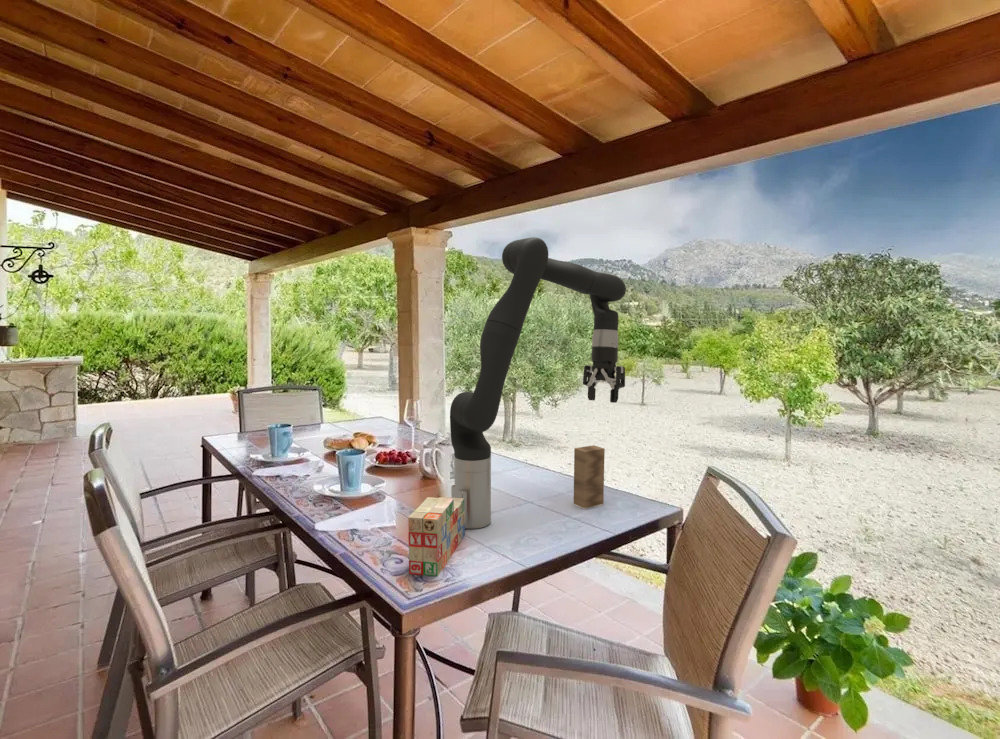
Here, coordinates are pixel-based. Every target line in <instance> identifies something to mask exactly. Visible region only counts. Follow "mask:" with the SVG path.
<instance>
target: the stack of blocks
mask: <svg viewBox="0 0 1000 739" xmlns="http://www.w3.org/2000/svg"><path fill="white" fill-rule="evenodd" d="M407 521H408V523H407V524H408V536H407V538H408V557H409V558H408V574H409V575H416V576H417V575H418V576H429V577H438V576H439V575H440V574H441V572H442V571H443V570H444V568H445V567H446V565H447V564H448V562H449V560H451V557H452V555H453V554H454V552H455V551H456V549H457V548H458V546H460V544H461V542H462V540H463V539H464V537H465V535H466V531H465V511H464V498H451V497H449V496H448V497H445V496H439V497H432V496H431V497H429V496H427V497H426V498H425V499H424V501H423V502H422V503H421V504H420V505H419V506H418V507H416V509H415V510H414V511H413V512H412V513H411V514H409V516H408V520H407Z"/></svg>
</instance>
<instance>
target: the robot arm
mask: <svg viewBox="0 0 1000 739" xmlns="http://www.w3.org/2000/svg"><path fill="white" fill-rule="evenodd" d="M501 260H502V261H501V262H502V264H503V266H504V268H505V270H507V271H508V272H509V273H511V274H513V275H512V279H511V281H510V283H509V286H508V288H507V290H506V291H505V292H504V293H503V295H502V296H501V297H500V299H499V300H498V301H497V302H496V303H495V305H494V306H493V308H492V309H491V311H490V312H489V314H488V316H487V319H486V321H485V324H484V327H483V331H482V332H481V336H480V343H479V352H480V353H479V354H480V355H479V356H480V371H479V372H480V373H479V377H478V380H477V383H476V386H475V388H474V391H473V392H471V391H462V392H460V393H458V394H457V395H456V396H455V397H454V399H453V400H452V402H451V404H450V410H449V427H450V429H449V430H450V442H451V446H452V448H453V452H454V453H453V455H454V456H453V457H454V459H453V460H454V468H453V469H454V473H453V474H454V484H452V485H451V490H450V491H451V497H450V498H464V511H465V529H466V530H467V529H471V530H472V529H481V528H482V529H483V528H485V527H488V526H489V525H490V524H491V523H492V449H491V448H492V446H491V444H490V443H489V442H488V440H487V438H486V437H485V436H484V432H487V431H488V430H489V429H490V428H491V427H492V426H493V425H494V423H495V421H496V419H497V417H498V416H497V415H498V413H499V408H500V404H501V399H502V394H503V391H504V386H505V382H506V378H507V375H508V372H509V369H510V366H511V363H512V360H513V355H514V353H515V350H516V347H517V346H518V342H519V340H520V336H521V334H522V330H523V326H524V324H525V320H526V317H527V314H528V312H529V309H530V306H531V303H532V300H533V297H534V295H535V292H536V291H537V288H538V285H539V284H540V282H541V280H544V281H546V282H550V283H553V284H555V285H558V286H562V287H565V288H567V289H569V290H573V291H575V292H577V293H579V294H582V295H583V294H584V295H589V298H590V304H591V308H592V313H593V333H592V337H591V338H592V340H591V342H592V343H591V357H590V358H591V359H590V360H591V362H592V365H589V364H588V365H587V364H585V365H584V368H583V376H582V377H583V379H582V384H583V386H586V387H587V399H588V400H589V401H596V390H597V389H596V387H597V384H598V383H600V382H601V381H603V382H605V381H606V382H607V384H608V385H609V387H610V388H611V389H610V395H609V396H610V397H609V399H610V400H609V402H610V403H611V404H612V403H613V404H614V403H616V404H617V403H618V401H619V392H620V391H619V390H620V389H623V388H625V387H626V367H625V366H622V365H621V366H618V365H617V363H618V354H619V313H618V312H617V310H613V309H611V308H610V307H609V303H611V302H612V303H613V302H618V301H620V300H622V299H623V298H624V297H625V295H626V293H627V288H626V284H625V282H624V281H623V279H622V278H620V277H618V276H616V275H613V274H611V273H605V272H598V271H594V270H593V269H590V268H588V267H585V266H583V265H580V264H577V263H573V262H569V261H563V260H559V259H554V258H551V257H549V248H548V246H547V243H546V242H545V241H544V240H543V239H541V238H540V237H525V238H522V239H515V240H513V241H510V242H509V243H508V244H507V245H506V246H505V247H504V248H503V250H502V255H501ZM616 365H617V366H616Z"/></svg>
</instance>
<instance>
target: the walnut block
mask: <svg viewBox="0 0 1000 739" xmlns="http://www.w3.org/2000/svg"><path fill="white" fill-rule="evenodd" d="M605 451H606V450H605V447H600V446H597V445H588V446H586V445H585V446H580V447H575V448H574V450H573V452H574V454H573V457H574V458H573V459H574V461H573V469H574V470H573V505H574V504H575V505H574V506H576V505H577V506H576V507H578V506H579V508H580V507H581V508H580V509H582V508H584V509H583V510H586V509H585V508H587V509H590V508H589V507H592V508H595V507H594V506H596V507H600V506H604V499H605V498H604V496H605V494H604V489H605V486H604V485H605ZM599 505H600V506H599Z"/></svg>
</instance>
